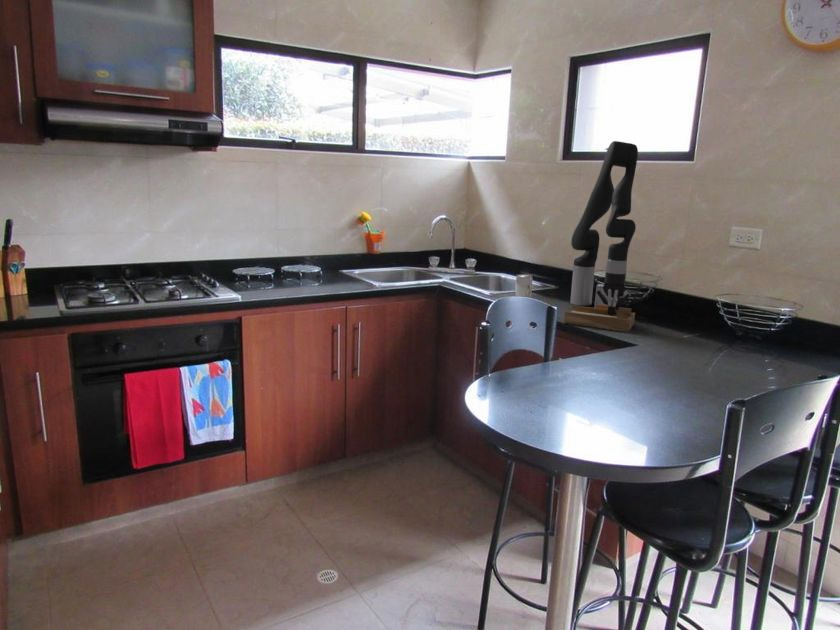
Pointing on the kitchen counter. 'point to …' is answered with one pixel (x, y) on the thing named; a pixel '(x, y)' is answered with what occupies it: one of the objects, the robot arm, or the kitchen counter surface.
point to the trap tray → (598, 318)
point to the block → (623, 313)
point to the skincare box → (598, 301)
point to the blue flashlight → (523, 285)
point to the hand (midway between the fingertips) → (611, 315)
